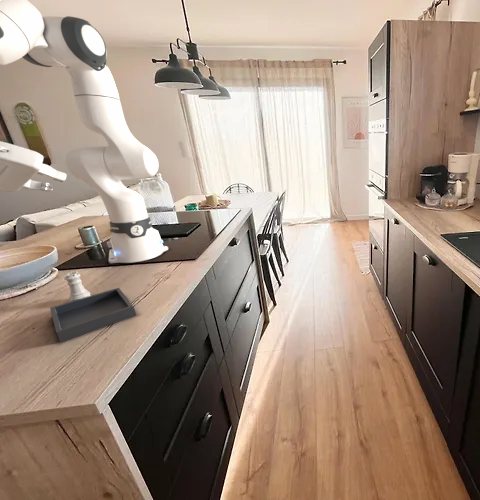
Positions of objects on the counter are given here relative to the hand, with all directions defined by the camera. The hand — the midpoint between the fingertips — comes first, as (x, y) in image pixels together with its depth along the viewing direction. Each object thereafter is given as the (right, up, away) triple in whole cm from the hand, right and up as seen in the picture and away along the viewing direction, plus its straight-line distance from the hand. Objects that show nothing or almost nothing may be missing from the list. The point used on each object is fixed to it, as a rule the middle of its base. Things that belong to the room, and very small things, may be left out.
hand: (58, 183), depth 67 cm
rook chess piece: (-4, -29, +10) cm, 31 cm away
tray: (+6, -32, +3) cm, 33 cm away
